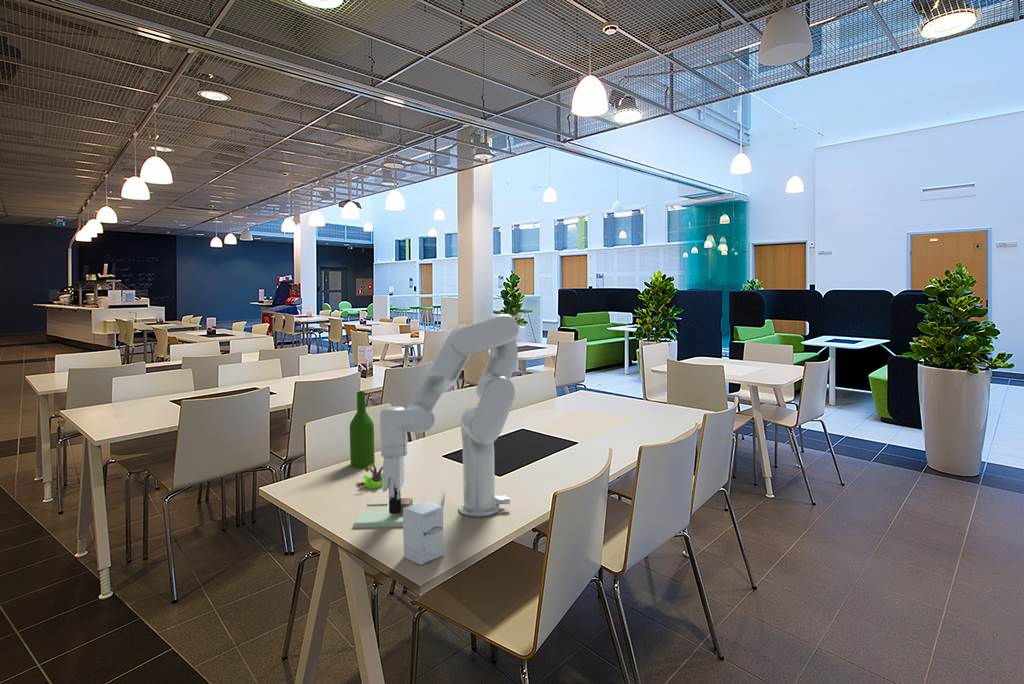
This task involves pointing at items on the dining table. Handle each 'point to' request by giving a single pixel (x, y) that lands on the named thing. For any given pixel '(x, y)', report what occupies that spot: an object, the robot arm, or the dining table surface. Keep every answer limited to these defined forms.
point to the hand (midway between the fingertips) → (395, 512)
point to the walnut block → (405, 504)
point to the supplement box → (423, 532)
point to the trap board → (385, 516)
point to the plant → (372, 478)
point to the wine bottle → (361, 436)
